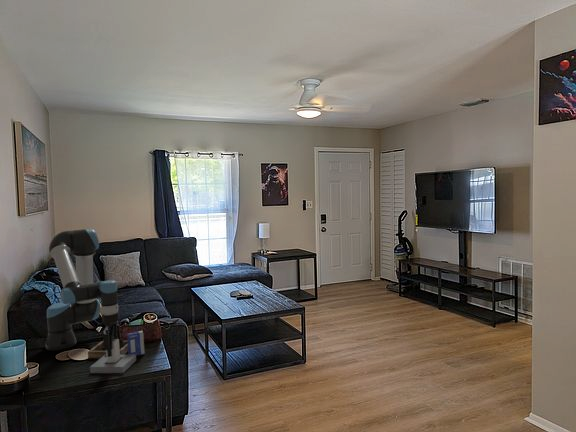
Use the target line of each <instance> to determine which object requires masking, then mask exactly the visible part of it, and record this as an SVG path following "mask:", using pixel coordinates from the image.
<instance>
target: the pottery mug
mask: <svg viewBox="0 0 576 432" xmlns="http://www.w3.org/2000/svg"><path fill="white" fill-rule="evenodd" d="M124 341H125V340H124V339H122V338H121V341H120V342H121V343H120V344H119V348H120V349H121V348H123V347H124V346H125V345H124V344H125V342H124Z"/></svg>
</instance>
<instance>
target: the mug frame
mask: <svg viewBox="0 0 576 432" xmlns="http://www.w3.org/2000/svg"><path fill="white" fill-rule="evenodd" d="M123 341H124V342H125V344H124V345H125V346H124V347H123V348H121V349H120V355H127V354H128V345H127V340H123ZM104 355H106V350H104V342H103V340H102V341H100V342H99V343H98V344H96V345H95V346H93V347H92V348H91V349H90V350H88V351H87V359H100V358H102V357H103V356H104Z"/></svg>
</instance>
